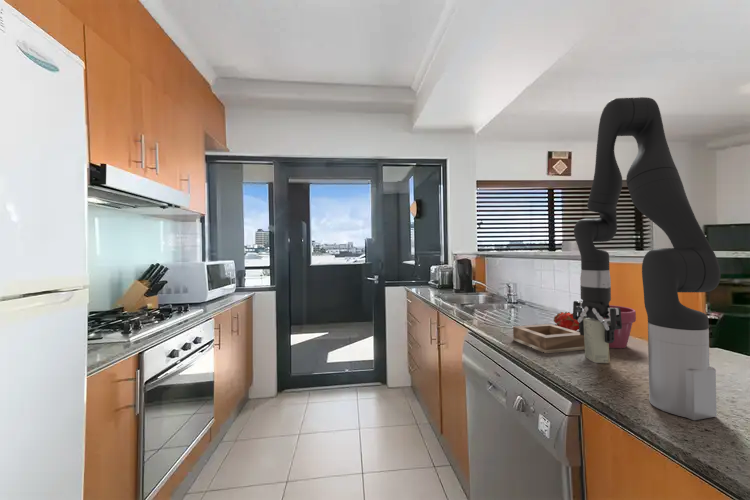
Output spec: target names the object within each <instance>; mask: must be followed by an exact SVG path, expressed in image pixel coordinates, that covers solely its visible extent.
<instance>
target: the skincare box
mask: <svg viewBox="0 0 750 500" xmlns="http://www.w3.org/2000/svg"><path fill="white" fill-rule="evenodd" d="M583 320H584V342H585V349H584V356H585V358H587V359H588V360H590V361H591V362H592V363H595V364H597V363H598V364H610V362H611V359H610V358H611V357H610V348H609V343H606V342H605V330H606V329H605V327H604V326H603V324H602V323H600V321H599V320H596V319H594V318H584V319H583ZM607 323H608V322H607Z"/></svg>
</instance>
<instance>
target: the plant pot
mask: <svg viewBox="0 0 750 500" xmlns="http://www.w3.org/2000/svg"><path fill="white" fill-rule="evenodd" d="M609 306H610V308H620V309H621V320H622V329H616V330H615V331H614V341H613V343H609V349H625V348H627V345H628V342H629V339H630V335H631V330H632V327H633V323H635V322H636V321H637V320H636V319H637V314H636V310H635V309H633V308H631V307H625V306H620V305H611V304H609ZM609 315H610V314H609ZM604 319H606V317H605V318H604ZM608 325H609V324H608Z"/></svg>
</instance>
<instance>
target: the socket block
mask: <svg viewBox="0 0 750 500" xmlns="http://www.w3.org/2000/svg"><path fill="white" fill-rule="evenodd" d="M556 325H557V324H556ZM556 325H555V324H551V323H541V324H528V325H519V326H517V325H515V326H512V331H513V333H512V337H513V341H514V342H517V343H519V344H522V345H525V346H527V347H529V348H531V347H532V349H534V350H536V351H538V352H541V353H543V352H544V353H543V354H552V353H553V354H554V353H562V352H573V351H580V350H584V351H585V342H584V335H580V332H577V331H578V330H577V331H574V330H570V329H567V328H563V327H560V326H556Z"/></svg>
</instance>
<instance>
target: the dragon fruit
mask: <svg viewBox="0 0 750 500" xmlns="http://www.w3.org/2000/svg"><path fill="white" fill-rule="evenodd" d="M553 323H555V324H554V325H556V326H560V327H563V328H567V329H570V330H574V331H577V332H579V322H578V321H577V320H576V319H573V312H572V313H571V312H570V311H565V312H562V311H560V313H557V315H555V316H554V317H553Z"/></svg>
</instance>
